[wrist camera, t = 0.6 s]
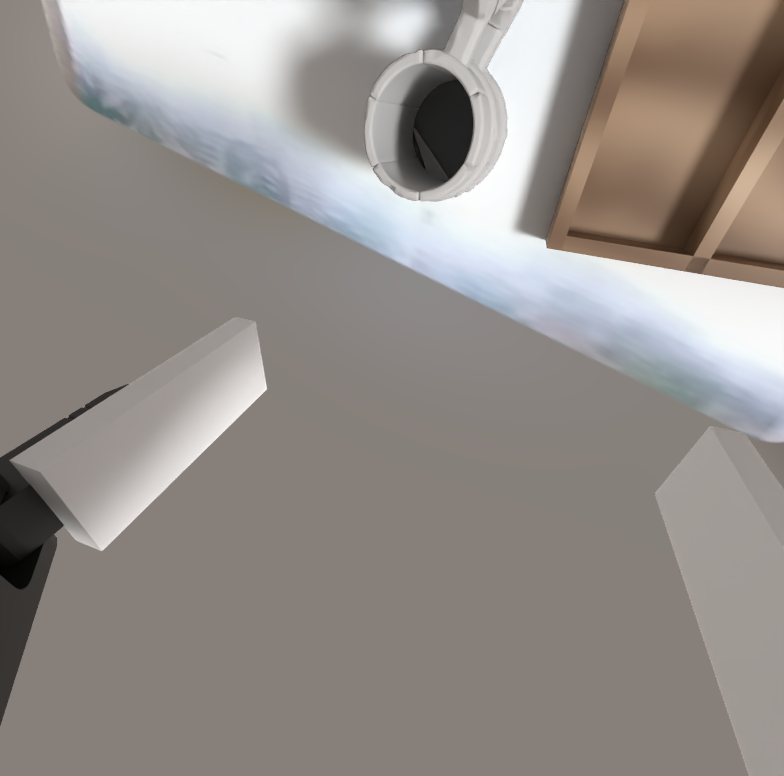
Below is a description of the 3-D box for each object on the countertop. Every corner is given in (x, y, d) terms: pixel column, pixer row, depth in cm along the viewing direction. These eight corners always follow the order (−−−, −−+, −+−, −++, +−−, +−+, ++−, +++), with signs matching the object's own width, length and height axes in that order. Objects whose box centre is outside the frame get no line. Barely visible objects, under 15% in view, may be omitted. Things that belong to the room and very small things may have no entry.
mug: (385, 161, 28) (314, 174, 19) (468, -52, 21) (418, -203, 12) (468, 213, 29) (438, 250, 19) (578, 19, 21) (616, -73, 12)
